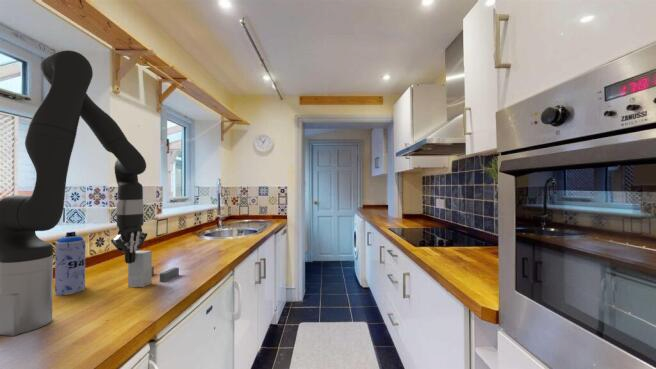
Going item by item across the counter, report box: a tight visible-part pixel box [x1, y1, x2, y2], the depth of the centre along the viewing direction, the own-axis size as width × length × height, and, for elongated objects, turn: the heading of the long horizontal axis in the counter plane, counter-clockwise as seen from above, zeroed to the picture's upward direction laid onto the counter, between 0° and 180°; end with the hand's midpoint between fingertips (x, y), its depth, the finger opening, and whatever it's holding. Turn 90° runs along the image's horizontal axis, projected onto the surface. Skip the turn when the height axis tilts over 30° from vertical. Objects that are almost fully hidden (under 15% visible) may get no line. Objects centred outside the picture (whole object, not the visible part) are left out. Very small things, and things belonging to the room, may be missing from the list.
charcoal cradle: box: [152, 266, 180, 283], centre depth 106 cm, size 8×13×3 cm, turn 83°
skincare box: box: [127, 250, 153, 288], centre depth 98 cm, size 6×4×12 cm
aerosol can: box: [53, 231, 87, 296], centre depth 93 cm, size 8×8×20 cm
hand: (130, 262), depth 94 cm, fingers closed
